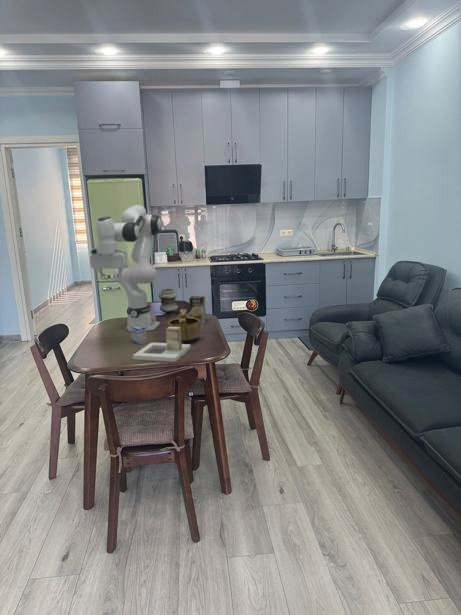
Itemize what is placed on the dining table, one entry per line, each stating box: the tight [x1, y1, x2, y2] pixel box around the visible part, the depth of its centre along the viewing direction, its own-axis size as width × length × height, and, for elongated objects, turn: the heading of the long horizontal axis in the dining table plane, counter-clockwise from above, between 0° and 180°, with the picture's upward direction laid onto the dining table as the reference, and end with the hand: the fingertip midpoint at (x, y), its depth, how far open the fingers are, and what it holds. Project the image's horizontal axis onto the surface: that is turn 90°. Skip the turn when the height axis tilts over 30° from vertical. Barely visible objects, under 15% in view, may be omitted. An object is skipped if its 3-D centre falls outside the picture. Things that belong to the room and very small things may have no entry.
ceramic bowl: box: [167, 308, 201, 343], centre depth 225 cm, size 22×17×15 cm
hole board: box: [132, 342, 192, 363], centre depth 207 cm, size 20×22×2 cm
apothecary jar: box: [158, 288, 179, 318], centre depth 281 cm, size 12×12×18 cm
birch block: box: [165, 327, 183, 351], centre depth 203 cm, size 4×6×11 cm, turn 74°
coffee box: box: [188, 296, 207, 324], centre depth 261 cm, size 9×6×16 cm
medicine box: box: [130, 326, 147, 345], centre depth 226 cm, size 8×4×9 cm, turn 44°
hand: (111, 277), depth 213 cm, fingers open, 8 cm apart
